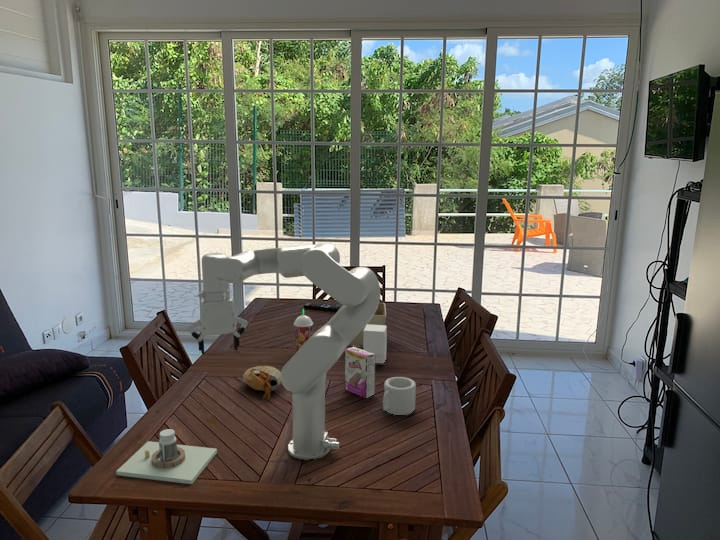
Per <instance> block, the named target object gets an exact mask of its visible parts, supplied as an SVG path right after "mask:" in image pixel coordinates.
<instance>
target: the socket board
mask: <svg viewBox="0 0 720 540" xmlns="http://www.w3.org/2000/svg"><path fill="white" fill-rule="evenodd" d="M177 453H178V458H176V459H174V460H172V461H166V462H164V461H160V450H159V441H150V440H148V441H146V443H144V444H143V445H142V447H140V448H139V450H137V451H136V452H135V453H134V454H133V455H132V456H131V457H129V459H128V460H126V462H124V463H123V464H122V465H121V466H120V467H119V468H118V469H117V470H116V476H122V477H128V478H129V477H130V478H136V479H137V478H139V479H147V480H154V481H162V482H169V483H179V484H187V485H193V483H194V482H195V481H196V480H197V478H198V477H199V476H200V475H201V473H202V472H203V471H204V470H205V468H206V467H207V466H208V465H209V464H210V462H211V461H212V460H213V459H214V457H215V456H216V455H217V453H218V449H217V448H215V447H213V448H212V447H202V446H195V445H188V444H187V445H186V444H185V445H184V444H178V443H177Z"/></svg>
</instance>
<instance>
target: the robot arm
mask: <svg viewBox="0 0 720 540" xmlns="http://www.w3.org/2000/svg"><path fill="white" fill-rule="evenodd" d="M340 263H341V255H340V252H339V250H338V249H337V247H335V246H334V245H332V244H331V243H313V244H306V245H305V244H304V245H298V246H297V245H295V246H289V247H288V246H286V247H272V248H262V249H252V250H247V251H242V252H239V253H237V254H234V255H232V256H228V255H227V254H226V253H222V252H212V253H211V252H210V253H206V254H204V255H203V256H202V257H201V275H202V292H198V293H197V295H198V298H200V299H201V298H202V299H201V301H200V302H201V303H200V309H199V310H200V312H199V313H200V314H199V319H198V320H196V321H194V322H193V323H191V324H189V325H188V326H187V330H188V332H189V333H190V334H191V336H192V337H193V338H194V339H196V340H197V341H198V351H200V353H201V355H205V343H204V342H205V341H204V338H205V337H207V336H216V335H217V336H220V335H228V334H229V335H230V334H233V335H232V336H233V337H232V338H233V349H234V351H238V347H240V337H241V335H242V334H243V333H244V332H245V330H246V328H247V326H248V324H249V323H248V320H246V319H243V318H242V317H239V316H236V307H235V303H234V300H233V298H232V297H231V293H230V292H231V289H230V288H231V287H230V283H234V284H235V283H241V282H243V281H245V280H247V279H249V278H251V277H253V276H256V275H257V276H258V275H263V274H264V275H265V274H280V275H281V277H283V278H284V279H285V278H286V279H289V278H299V277H300V278H301V277H305V278H306V279H307V280H308V281H310V282H311V283H312V284H313V285H314V286H316V287H317V288H319V289H320V290H322V291H323V292H324V293H325V294H327V295H328V296H329V297H331V298H332V299H334V300H335V301H336V302H337V303H339V304H341V307H340V308H339V309H338V310H337V312H336V313H335V314H334V315H333V316H332V317H331V318H330V319H329V321H327V322H326V323H325V324H324V325H323V326H321V327H320V328H319V329H317V330H316V331H315V332H314V333H312V336H311V337H310V338H309V339H308V341H307V342H306V343H305V344H304V345H303V346H302V347H301V348H300V349H299V350H298V351H296V352H295V353H294V355H292V356H291V358H290V359H289V360H288V361H286V363H285V364H284V366H283V367H282V368H281V371H280V372H281V383H282V384H281V385H282V386H283V388H284V389H285V390H286V391H288V392H290V393H292V394H291V395H292V399H291V400H292V401H291V402H292V403H291V404H292V407H291V408H292V440H290V441H289V442H288V445H287V452H288V454H289V455H290V456H291V457H293V458H295V459H297V458H298V460H302V459H303V460H304V461H310V460H309V459H314V460H317V458H318V459H320V458H323V457H325V456H326V455H328V454H329V452H331V449H335V450H339V448H340V442H338V441H337V440H338V439H337V438H336V437H335V438H333V437H329V435H328V431H326V381H327V372H328V371H329V370H330V369H331V368H332V367H333V366H334V365H335V364H336V362H337V361H339V359H340V358H341V356H342V355H343V353H345V349H347V348H348V346H350V342H351V341H352V340H353V339H354V338H355V337H356V336H357V335H358V334H359V333H360V331H361V330H362V329H363V328H364V327H365V326H366V325H367V324H368V322H369V321H370V320H371V318H372V317H373V315H374V314H375V312H376V310H377V307H378V304H379V303H380V300H381V285H380V282H379V278H378V277H377V275H376V274H375V272H374V271H373V270H372V269H371V268H369V267H366V266H357V267H355V268H354V267H353V268H352V269H350V270H348V269H346V268H345V267H343V266H342V265H340ZM237 323H239V324H241V325H240V327H239V328H237ZM198 327H200V331H199V333H197V332H196V331H195V329H197V328H198ZM303 460H302V461H303Z"/></svg>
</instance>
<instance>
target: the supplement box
mask: <svg viewBox="0 0 720 540" xmlns="http://www.w3.org/2000/svg"><path fill="white" fill-rule="evenodd" d="M387 329H388V327H387V325H386V324H385V325H369V324H367V325H366V327H365V329H364V330H363V347H362V348H363V350H365V351H368V352H371V353H374V354H375V363H384V362H385V363H386V361H385V360H387V345H388V343H387V340H388V337H387V336H388V335H387V334H388V333H387V331H388V330H387Z"/></svg>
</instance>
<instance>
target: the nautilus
mask: <svg viewBox="0 0 720 540" xmlns="http://www.w3.org/2000/svg"><path fill="white" fill-rule="evenodd" d="M281 372H282V371H280V370H279V369H277V368H276V367H274V366H269V365H258V366H254V367H250V368H248V369H247V370H246V371H244V373H243V375H242V380H243V382H244V383H245V384H247V385H248V387H250V388H251V389H253V390H254V391H255V390H256V391H262V392H265V393H264V395H263V396H262V400H265V399H270V398H271V392H275V391H277V389H278V388H279V386H280V384H281V383H282V381H281Z"/></svg>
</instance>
